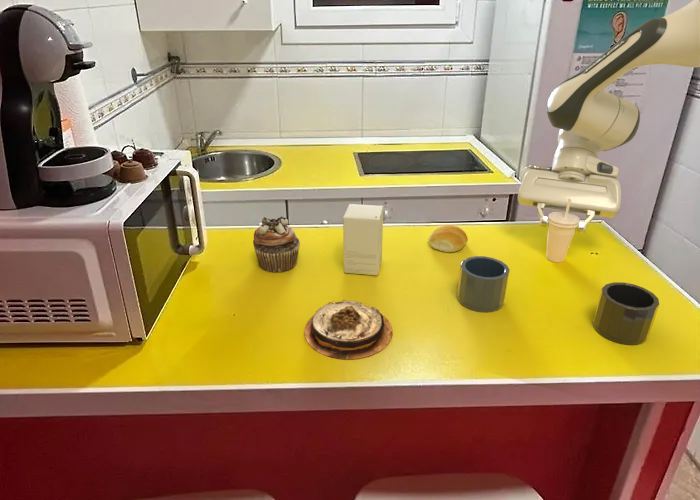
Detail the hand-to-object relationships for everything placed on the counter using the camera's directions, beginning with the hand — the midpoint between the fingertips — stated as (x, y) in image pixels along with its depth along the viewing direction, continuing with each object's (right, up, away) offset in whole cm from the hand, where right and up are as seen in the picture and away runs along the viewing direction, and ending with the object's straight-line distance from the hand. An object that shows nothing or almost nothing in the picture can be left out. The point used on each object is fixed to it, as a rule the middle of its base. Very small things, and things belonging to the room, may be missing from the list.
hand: (561, 228), depth 109 cm
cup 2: (+2, -18, -19) cm, 26 cm away
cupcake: (-60, -7, +1) cm, 60 cm away
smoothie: (0, -6, +4) cm, 8 cm away
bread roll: (-22, -3, +9) cm, 24 cm away
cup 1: (-20, -14, -11) cm, 26 cm away
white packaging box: (-42, -8, 0) cm, 43 cm away
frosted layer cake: (-45, -19, -20) cm, 52 cm away
